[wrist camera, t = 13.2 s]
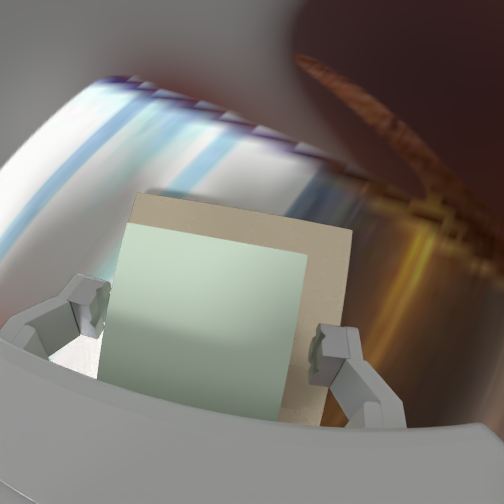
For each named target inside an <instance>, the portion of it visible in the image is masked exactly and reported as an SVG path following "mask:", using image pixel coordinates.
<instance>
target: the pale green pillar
mask: <svg viewBox="0 0 504 504" xmlns="http://www.w3.org/2000/svg"><path fill="white" fill-rule="evenodd" d="M307 256H308V255H306V254H301V253H296V252H290V251H285V250H279V249H274V248H268V247H263V246H257V245H252V244H246V243H241V242H235V241H230V240H224V239H219V238H213V237H207V236H202V235H196V234H191V233H185V232H179V231H174V230H168V229H162V228H157V227H151V226H145V225H140V224H134V223H128V222H127V225H126V229H125V233H124V236H123V240H122V244H121V248H120V253H119V257H118V261H117V265H116V270H115V274H114V279H113V284H112V288H111V293H110V298H109V304H108V309H107V314H106V320H105V326H104V332H103V338H102V345H101V352H100V359H99V366H98V374H97V380H100V381H103V382H106V383H109V384H112V385H115V386H118V387H121V388H124V389H128V390H131V391H134V392H137V393H141V394H144V395H148V396H151V397H155V398H159V399H162V400H166V401H170V402H174V403H178V404H182V405H187V406H191V407H195V408H200V409H205V410H209V411H214V412H219V413H225V414H230V415H236V416H242V417H248V418H254V419H261V420H268V421H275V422H277V420H278V415H279V411H280V406H281V401H282V396H283V392H284V387H285V382H286V377H287V372H288V367H289V361H290V356H291V351H292V346H293V340H294V335H295V329H296V324H297V318H298V312H299V306H300V300H301V294H302V288H303V282H304V275H305V269H306V262H307Z"/></svg>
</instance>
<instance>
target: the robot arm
mask: <svg viewBox="0 0 504 504" xmlns="http://www.w3.org/2000/svg"><path fill="white" fill-rule="evenodd" d="M110 291H111V284H110V282H108V281H105V280H102V279H98V278H94V277H91V276H86V275H83V274H80V273H77V274H75V275H74V276H73V277H72V278H71V280H70V281H69V282H68V283H67V285H66V286H65V287H64V288H63V290H62V291H61V292H60V293H59V295H58V296H57V297H52V298H49V299H47V300H45V301H43V302H41V303H38V304H36V305H34V306H32V307H30V308H28V309H26V310H23V311H21V312H19V313H17V314H15V315H13V316H11V317H10V318H9V319H8V320H7V322H6V323H5V324H4V326H3V327H2V328H1V330H0V504H504V442H503V441H502V440H501V439H500V438H499V437H498V436H497V435H496V434H495V433H494V432H493V431H492V430H491V429H490V428H489V427H488V426H486V425H485V424H483V423H470V424H462V425H452V426H440V427H424V428H407V426H406V420H405V414H404V408H403V403H402V401H401V400H400V399H399V397H398V396H397V395H396V394H395V393H394V392H393V390H392V389H391V388H390V387H389V386H388V385H387V383H386V382H385V381H384V380H383V379H382V378H381V377H380V375H379V374H378V373H377V372H376V371H375V370H374V368H373V367H372V366H371V365H370V364H369V363H368V362H367V361H364V360H363V353H362V347H361V341H360V336H359V330H358V328H355V327H346V326H345V327H344V326H338V325H331V324H324V323H319V324H318V326H317V328H316V336H315V337H313V338H312V341H311V343H310V347H309V353H308V361H309V363H310V364H311V365H310V368H309V370H308V384H309V385H316V386H323V387H330V388H329V389H330V390H331V392H332V394H333V395H334V397H335V399H336V400H337V402H338V404H339V405H340V407H341V408H342V410H343V412H344V413H345V415H346V417H347V418H348V420H349V422H348V423H347V424H346V426H345V427H344V428H341V427H325V426H312V425H301V424H292V423H283V422H275V421H268V420H261V419H254V418H248V417H242V416H236V415H230V414H225V413H219V412H214V411H209V410H205V409H200V408H195V407H191V406H187V405H182V404H178V403H174V402H170V401H166V400H162V399H159V398H155V397H151V396H148V395H144V394H141V393H137V392H134V391H131V390H128V389H124V388H121V387H118V386H115V385H112V384H109V383H106V382H103V381H100V380H97V379H94V378H92V377H89V376H86V375H83V374H81V373H78V372H75V371H73V370H70V369H68V368H65V367H63V366H60V365H58V364H55V363H53V362H51V361H50V359H49V358H48V357H49V356H50V355H52V354H53V353H55V352H56V351H58V350H59V349H61V348H62V347H63V346H65V345H66V344H68V343H69V342H71V341H72V340H74V339H75V338H77V337H78V336H80V334H82V335H85V336H88V337H92V338H95V339H98V338H99V336H100V334H101V333H102V331H103V329H104V322H105V320H106V314H107V309H108V304H109V298H110V293H109V292H110Z"/></svg>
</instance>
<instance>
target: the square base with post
mask: <svg viewBox="0 0 504 504" xmlns="http://www.w3.org/2000/svg"><path fill="white" fill-rule="evenodd" d="M129 223H134V224H140V225H145V226H151V227H157V228H162V229H168V230H174V231H179V232H185V233H191V234H196V235H202V236H207V237H213V238H219V239H224V240H230V241H235V242H241V243H246V244H252V245H257V246H263V247H268V248H274V249H279V250H285V251H290V252H296V253H301V254H306V255H308V256H307V262H306V269H305V275H304V282H303V288H302V294H301V300H300V306H299V312H298V318H297V324H296V329H295V335H294V340H293V346H292V351H291V356H290V361H289V367H288V372H287V377H286V382H285V387H284V392H283V396H282V401H281V406H280V411H279V415H278V420H277V422H283V423H292V424H301V425H312V426H320V422H321V418H322V414H323V410H324V405H325V401H326V396H327V392H328V387H323V386H316V385H309V384H308V370H309V368H310V365H311V364H310V363H309V361H308V353H309V347H310V343H311V341H312V338H313V337H315V336H316V328H317V326H318V324H319V323H324V324H331V325H338V326H340V323H341V317H342V310H343V304H344V297H345V290H346V283H347V275H348V267H349V259H350V250H351V241H352V231H353V230H349V229H344V228H339V227H335V226H330V225H325V224H319V223H314V222H309V221H304V220H299V219H294V218H288V217H283V216H278V215H272V214H267V213H261V212H256V211H250V210H244V209H238V208H233V207H227V206H221V205H215V204H209V203H203V202H196V201H190V200H184V199H177V198H171V197H164V196H157V195H151V194H144V193H137V194H136V198H135V201H134V205H133V208H132V212H131V215H130V219H129Z"/></svg>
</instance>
